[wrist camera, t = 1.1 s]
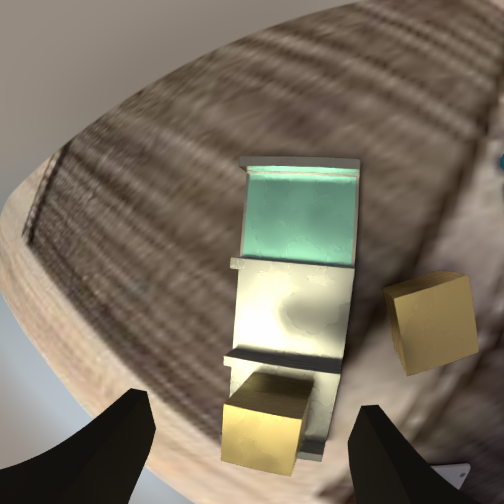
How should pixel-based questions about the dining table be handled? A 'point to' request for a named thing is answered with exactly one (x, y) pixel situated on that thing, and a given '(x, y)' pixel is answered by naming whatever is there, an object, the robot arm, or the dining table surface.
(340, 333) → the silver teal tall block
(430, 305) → the brass metal cube
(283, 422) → the brass block
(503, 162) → the gear
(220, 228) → the dining table surface
